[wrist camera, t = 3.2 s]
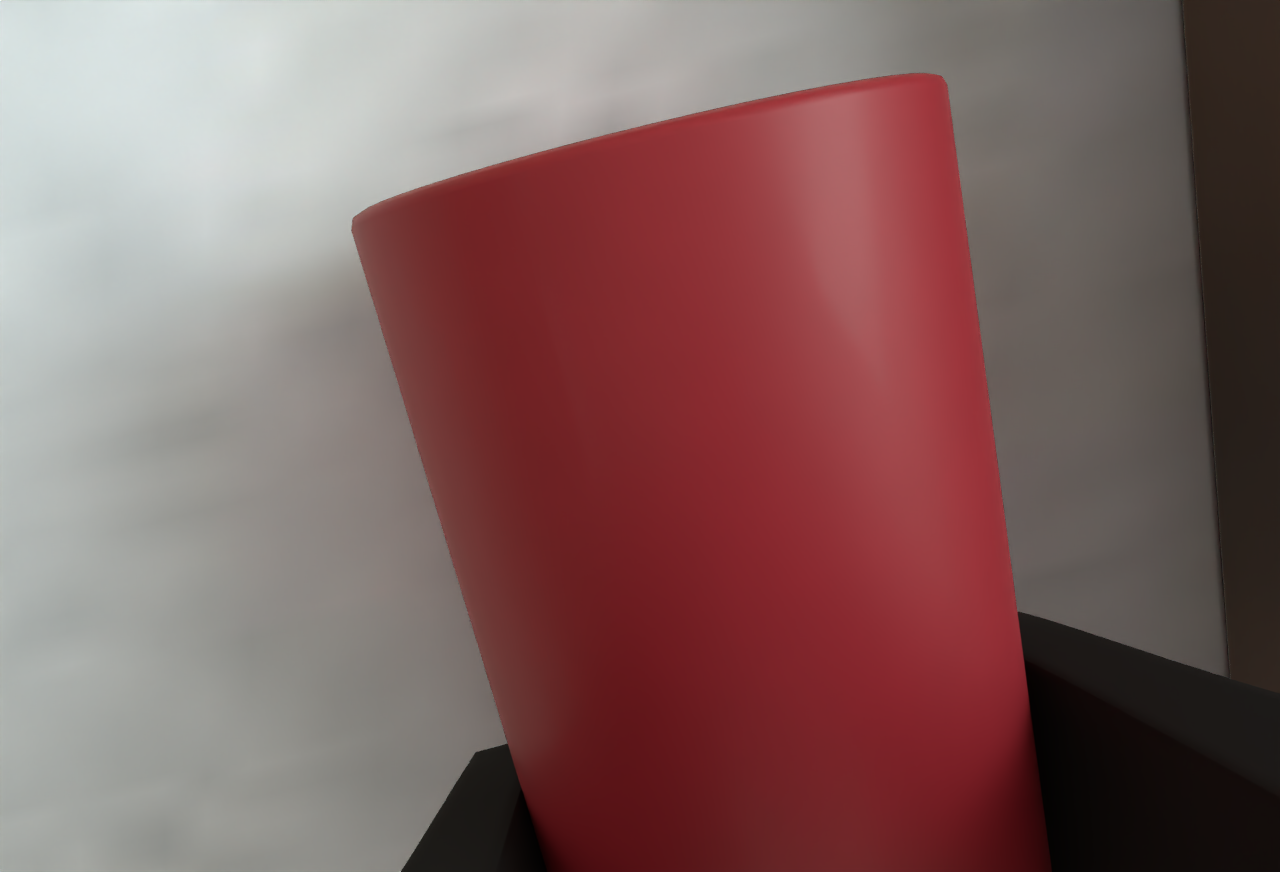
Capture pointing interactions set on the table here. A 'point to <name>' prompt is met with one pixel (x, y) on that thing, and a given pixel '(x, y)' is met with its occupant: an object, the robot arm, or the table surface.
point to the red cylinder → (726, 486)
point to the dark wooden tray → (1241, 305)
